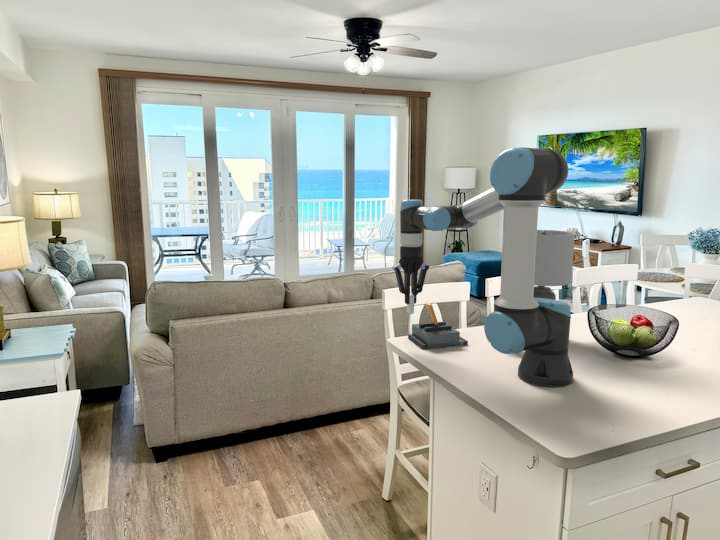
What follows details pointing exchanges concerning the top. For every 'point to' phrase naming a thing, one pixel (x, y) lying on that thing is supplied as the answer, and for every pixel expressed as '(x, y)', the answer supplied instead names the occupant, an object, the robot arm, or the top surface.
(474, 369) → the top surface
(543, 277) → the lamp
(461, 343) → the gray slab
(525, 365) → the robot arm
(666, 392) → the top surface
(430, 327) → the box
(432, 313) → the lever
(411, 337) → the dark gray bar
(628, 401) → the top surface
